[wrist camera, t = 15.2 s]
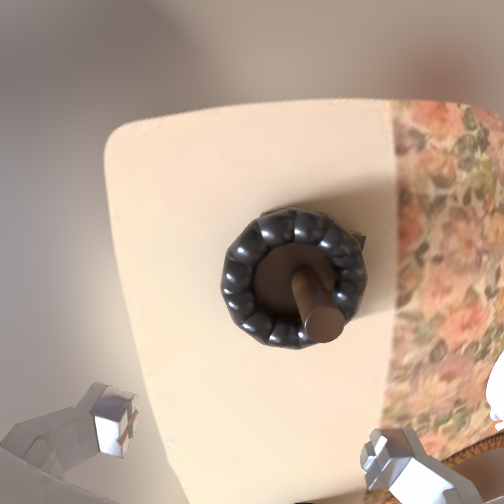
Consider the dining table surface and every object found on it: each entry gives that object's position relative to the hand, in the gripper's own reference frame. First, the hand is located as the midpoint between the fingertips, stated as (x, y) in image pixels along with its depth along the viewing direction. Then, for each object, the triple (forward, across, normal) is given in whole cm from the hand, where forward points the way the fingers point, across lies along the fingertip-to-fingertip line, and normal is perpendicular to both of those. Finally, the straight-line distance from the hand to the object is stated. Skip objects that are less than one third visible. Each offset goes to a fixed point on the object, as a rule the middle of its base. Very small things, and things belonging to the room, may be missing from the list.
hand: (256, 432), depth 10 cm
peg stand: (+20, -4, 0) cm, 20 cm away
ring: (+17, -3, 0) cm, 17 cm away
